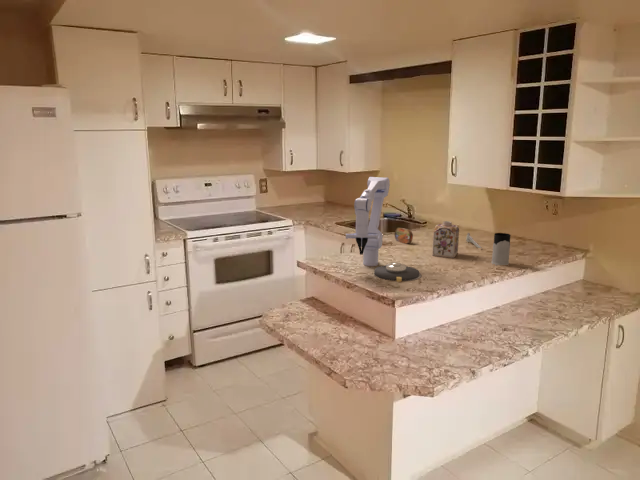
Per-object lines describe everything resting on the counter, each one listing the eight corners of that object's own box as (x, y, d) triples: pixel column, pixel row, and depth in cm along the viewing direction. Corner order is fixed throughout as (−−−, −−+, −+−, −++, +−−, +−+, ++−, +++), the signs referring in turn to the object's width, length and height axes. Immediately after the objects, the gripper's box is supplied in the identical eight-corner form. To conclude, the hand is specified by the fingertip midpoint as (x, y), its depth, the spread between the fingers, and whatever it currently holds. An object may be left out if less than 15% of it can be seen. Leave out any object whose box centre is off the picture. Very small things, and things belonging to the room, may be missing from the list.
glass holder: (494, 265, 243) (496, 236, 240) (484, 258, 257) (487, 230, 254) (511, 266, 243) (514, 236, 240) (501, 259, 257) (504, 230, 254)
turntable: (373, 267, 233) (373, 264, 233) (416, 268, 232) (416, 265, 231) (375, 281, 211) (375, 277, 211) (422, 282, 210) (423, 279, 210)
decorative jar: (458, 253, 268) (460, 221, 264) (454, 258, 257) (456, 224, 254) (436, 251, 273) (438, 219, 269) (431, 255, 262) (433, 222, 259)
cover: (385, 268, 227) (385, 260, 226) (404, 268, 226) (405, 261, 226) (386, 273, 218) (386, 265, 217) (407, 273, 218) (407, 266, 217)
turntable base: (371, 269, 234) (371, 267, 234) (417, 270, 233) (417, 268, 233) (373, 283, 213) (373, 280, 212) (424, 284, 211) (424, 281, 211)
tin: (393, 240, 301) (394, 226, 300) (398, 239, 303) (398, 226, 301) (409, 245, 288) (409, 230, 286) (413, 244, 290) (414, 230, 288)
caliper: (465, 242, 297) (466, 232, 296) (467, 242, 297) (468, 232, 296) (480, 250, 277) (481, 239, 276) (482, 250, 277) (483, 239, 276)
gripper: (345, 226, 218) (345, 255, 221) (378, 226, 218) (377, 256, 220) (346, 223, 225) (345, 252, 228) (377, 223, 224) (377, 252, 227)
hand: (361, 254), depth 225 cm, fingers closed
